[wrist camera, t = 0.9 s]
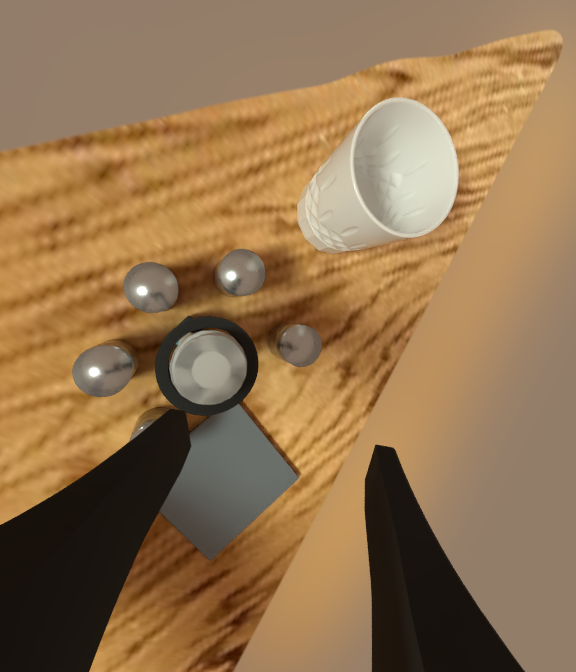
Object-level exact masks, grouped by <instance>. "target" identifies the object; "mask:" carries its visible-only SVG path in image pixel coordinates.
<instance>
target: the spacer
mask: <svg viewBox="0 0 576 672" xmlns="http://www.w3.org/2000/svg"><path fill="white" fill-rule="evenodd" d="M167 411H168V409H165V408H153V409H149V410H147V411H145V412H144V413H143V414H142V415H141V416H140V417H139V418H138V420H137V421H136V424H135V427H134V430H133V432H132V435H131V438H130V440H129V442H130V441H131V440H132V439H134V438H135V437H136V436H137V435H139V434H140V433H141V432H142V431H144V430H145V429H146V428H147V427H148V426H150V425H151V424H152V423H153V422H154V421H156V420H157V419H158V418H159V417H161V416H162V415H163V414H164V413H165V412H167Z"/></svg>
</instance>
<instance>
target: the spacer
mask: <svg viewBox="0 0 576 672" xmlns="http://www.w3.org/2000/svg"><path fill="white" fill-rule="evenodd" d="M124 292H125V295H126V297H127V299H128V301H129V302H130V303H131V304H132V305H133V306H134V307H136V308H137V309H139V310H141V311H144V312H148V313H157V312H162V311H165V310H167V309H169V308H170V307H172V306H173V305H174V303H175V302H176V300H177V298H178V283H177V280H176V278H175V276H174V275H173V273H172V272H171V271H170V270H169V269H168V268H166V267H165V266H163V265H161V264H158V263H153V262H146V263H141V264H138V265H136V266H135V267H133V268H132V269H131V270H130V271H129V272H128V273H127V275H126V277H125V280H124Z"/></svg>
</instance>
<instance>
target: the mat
mask: <svg viewBox="0 0 576 672" xmlns="http://www.w3.org/2000/svg"><path fill="white" fill-rule="evenodd" d="M189 435H190V441H191V449H190V451H189V454H188V456H187V459H186V461H185V464H184V466H183V468H182V471H181V473H180V475H179V476H178V478H177V480H176V482H175V484H174V486H173V487H172V489H171V491H170V493H169V495H168V497H167V498H166V500H165V502H164V504H163V505H162V507H161V509H160V511H159V512H160V513H161V514H162V515H163V516H164V517H165V518H166V519H167V520H168V521H169V522H170V523H171V524H172V525H174V526H175V527H176V528H177V529H178V530H179V531H180V532H181V533H182V534H183V535H184V536H185V537H186V538H187V539H188V540H189V541H190V542H191V543H192V544H193V545H194V546H195V547H196V548H197V549H199V550H200V551H201V552H202V553H203V554H204V555H205V556H206V557H207V558H208V559H209V560H210V561H211V560H212V559H213V558H214V557H215V556H216V555H217V554H218V553H219V552H220V551H221V550H222V549H223V548H225V547H226V546H227V545H228V544H229V543H230V542H231V541H232V540H233V539H234V538H235V537H236V536H237V535H239V534H240V533H241V532H242V531H243V530H244V529H245V528H246V527H247V526H248V525H249V524H250V523H251V522H252V521H254V520H255V519H256V518H257V517H258V516H259V515H260V514H261V513H262V512H263V511H264V510H265V509H266V508H268V507H269V506H270V505H271V504H272V503H273V502H274V501H275V500H276V499H277V498H278V497H279V496H280V495H281V494H283V493H284V492H285V491H286V490H287V489H288V488H289V487H290V486H291V485H292V484H293V483H294V482H295V481H297V480H298V479H299V477H298V476H297V475H296V473H295V472H294V471H293V470H292V468H291V467H290V466H289V465H288V464H287V462H286V461H285V460H284V459H283V457H282V456H281V455H280V454H279V452H278V451H277V450H276V449H275V448H274V446H273V445H272V444H271V443H270V441H269V440H268V439H267V438H266V436H265V435H264V434H263V433H262V432H261V430H260V429H259V428H258V427H257V425H256V424H255V423H254V422H253V420H252V419H251V418H250V417H249V416H248V414H247V413H246V412H245V411H244V409H243V408H242V407H241V406H240V404H238V405H236V406H235V407H233V408H232V409H230V410H228V411H225V412H223V413H219V414H215V415H211V416H209V417H208V418H207V419H206V420H204V421H203V422H202V423H201V424H199V425H198V426H197V427H196V428H195V429H193V430H192V431H191V432H190V433H189Z"/></svg>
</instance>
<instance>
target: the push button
mask: <svg viewBox="0 0 576 672" xmlns="http://www.w3.org/2000/svg"><path fill="white" fill-rule="evenodd" d="M203 328H218V329H222V330H224V331H227V332H228V333H229V334H231V335H232V336H233V337H234V338H235V339H236V340H235V339H234V338H233V337H232V336H230V335H227V334H225V333H223V332H220V331H210V330H209V329H208V331H207V330H204V329H203ZM176 344H177V345H178V347H177V348H176V349H175V351H174V353H173V356H172V360H171V363H170V371H169V356H170V353H171V351H172V349H173V348H174V346H175V345H176ZM155 373H156V379H157V382H158V385H159V388H160V390H161V392H162V393H163V395H164V396H165V397H166V399H167V400H168V401H169V402H170V403H171V404H173V405H174V406H175V407H177V408H178V409H180V410H182V411H185V412H187V413H190V414H194V415H201V416H208V415H215V414H219V413H223V412H225V411H228V410H230V409H232V408H233V407H235V406H236V405H238V404H239V403H240V402H241V401H242V400H243V399H244V398H245V397H246V396H247V395H248V393H249V392H250V391H251V389H252V387H253V385H254V383H255V380H256V377H257V373H258V355H257V351H256V348H255V346H254V343H253V341H252V340H251V338H250V337H249V335H248V334H247V333H246V332H245V331H244V330H243V329H242V328H241V327H239V326H238V325H237V324H235V323H233V322H231V321H229V320H226V319H223V318H219V317H212V316H204V317H197V318H193V319H192V318H191V317H190V316H187V317H186V318H185V319H184V320H183V321H182V322H181V323H180V324H179V325H178V326H177V327H176V328H174V329H173V330H172V331H171V332H170V333H169V334H168V335H167V336H166V338H165V339H164V341H163V342H162V344H161V346H160V348H159V351H158V353H157V357H156V363H155ZM170 373H171V374H170Z"/></svg>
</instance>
